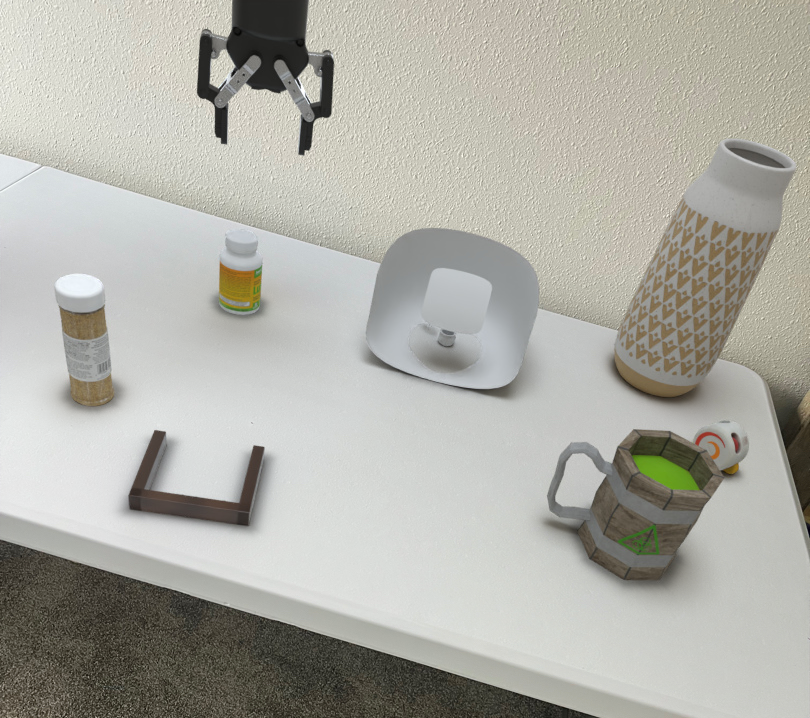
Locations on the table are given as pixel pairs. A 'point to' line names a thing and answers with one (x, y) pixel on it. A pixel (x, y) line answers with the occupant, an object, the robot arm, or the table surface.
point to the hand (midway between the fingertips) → (262, 147)
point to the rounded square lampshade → (454, 303)
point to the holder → (191, 505)
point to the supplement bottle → (240, 273)
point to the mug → (641, 501)
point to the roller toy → (724, 444)
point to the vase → (703, 269)
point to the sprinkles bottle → (85, 338)
